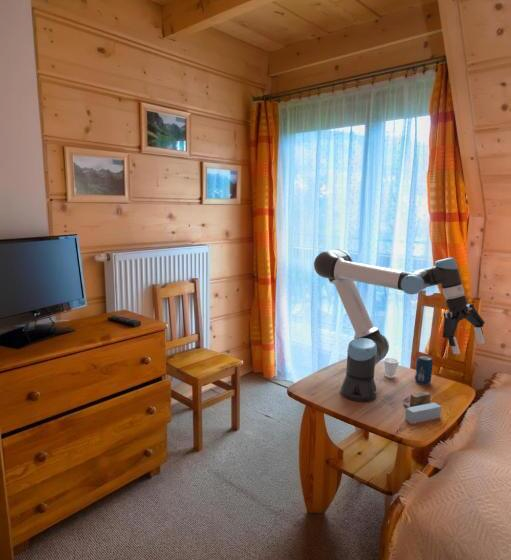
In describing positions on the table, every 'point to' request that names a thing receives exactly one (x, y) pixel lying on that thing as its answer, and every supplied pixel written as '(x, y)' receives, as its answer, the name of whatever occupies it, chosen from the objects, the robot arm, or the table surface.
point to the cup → (390, 366)
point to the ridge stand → (418, 399)
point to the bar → (423, 412)
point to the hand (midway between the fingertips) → (469, 348)
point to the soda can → (423, 370)
